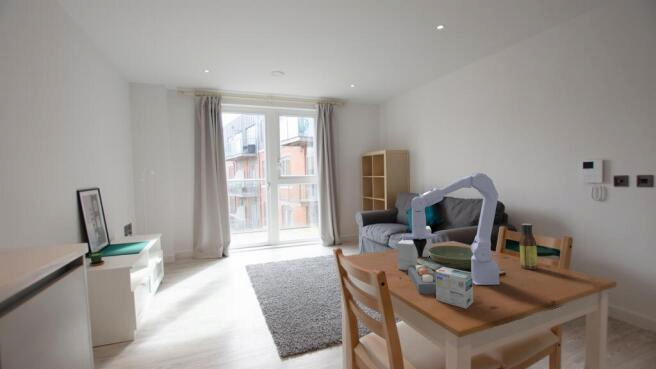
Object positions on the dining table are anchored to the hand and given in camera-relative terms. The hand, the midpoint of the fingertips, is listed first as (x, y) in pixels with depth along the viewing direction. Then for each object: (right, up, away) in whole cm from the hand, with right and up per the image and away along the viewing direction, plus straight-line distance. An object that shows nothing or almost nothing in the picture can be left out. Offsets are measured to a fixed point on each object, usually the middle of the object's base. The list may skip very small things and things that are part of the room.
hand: (420, 256), depth 126 cm
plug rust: (0, -9, -6) cm, 10 cm away
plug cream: (-1, -10, -12) cm, 15 cm away
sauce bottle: (+51, -7, +6) cm, 52 cm away
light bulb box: (+5, -11, -23) cm, 26 cm away
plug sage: (0, -9, 0) cm, 9 cm away
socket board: (0, -10, -5) cm, 11 cm away
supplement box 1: (-2, -9, +13) cm, 16 cm away
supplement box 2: (+12, -7, +33) cm, 36 cm away
